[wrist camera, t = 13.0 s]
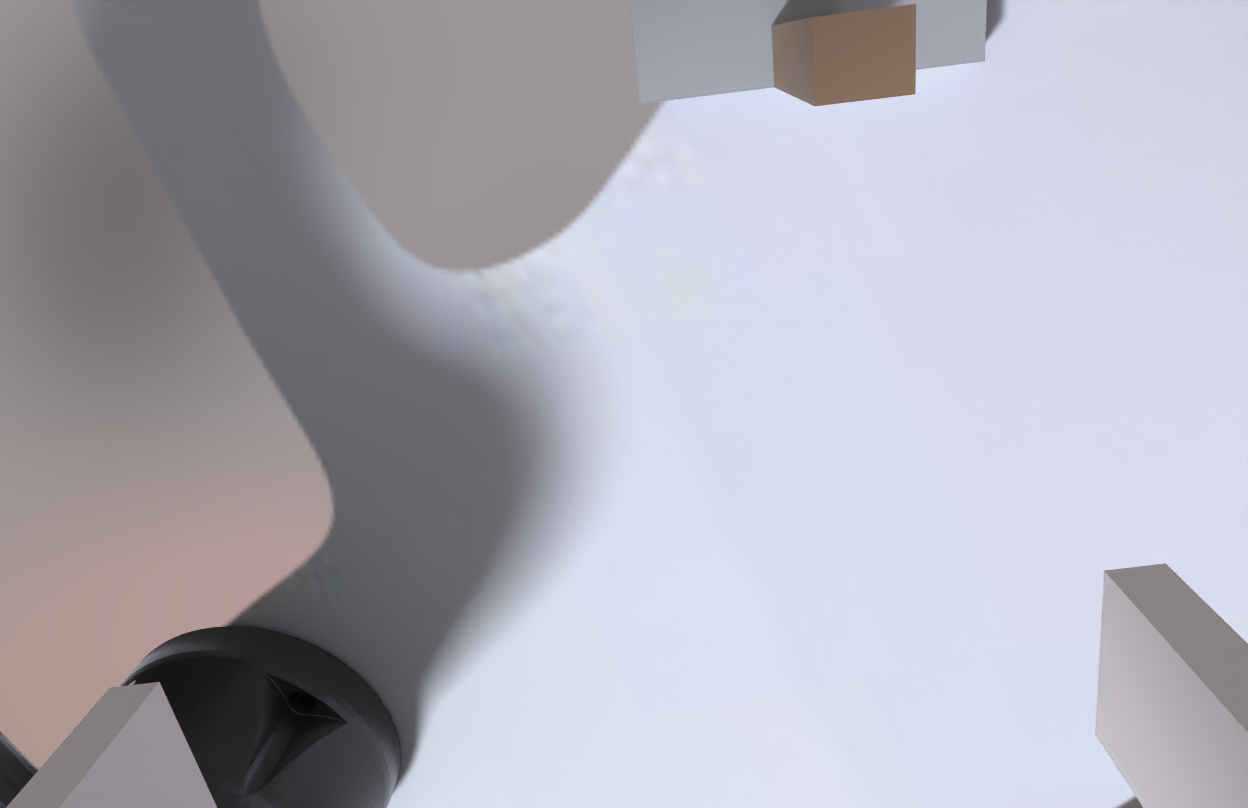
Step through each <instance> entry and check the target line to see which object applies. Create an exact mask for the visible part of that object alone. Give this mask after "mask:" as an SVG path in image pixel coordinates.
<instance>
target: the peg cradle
mask: <svg viewBox="0 0 1248 808" xmlns="http://www.w3.org/2000/svg"><path fill="white" fill-rule="evenodd" d="M629 7H630V16H631V25H632V35H633V44H634V53H635V63H636V71H637V82H638V91H639V100H640V104H642V103H650V102H658V101H666V100H674V99H682V98H690V97H698V96H706V95H715V94H723V93H731V92H739V91H747V90H755V89H763V88H771V87H775V88H777V89H779V90H781V91H784V92H786V93H788V94H790V95H792V96H794V97H796V98H799V99H801V100H803V101H805V102H807V103H809V104H811V105H813V106H821V105H829V104H837V103H845V102H854V101H862V100H870V99H879V98H887V97H895V96H903V95H912V94H915V73H916V70H917V69H925V68H933V67H941V66H949V65H957V64H965V63H973V62H981V61H985V40H986V15H987V0H629Z"/></svg>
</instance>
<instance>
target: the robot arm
mask: <svg viewBox="0 0 1248 808" xmlns="http://www.w3.org/2000/svg"><path fill="white" fill-rule="evenodd" d="M1095 735H1096V736H1097V738H1098V739H1099V741H1100V742H1101V744H1102V745H1103V747H1104V748H1105V750H1106V751H1107V753H1108V754H1109V756H1110V757H1111V759H1112V760H1113V762H1114V764H1115V765H1116V767H1117V768H1118V770H1119V771H1120V773H1121V774H1122V776H1123V777H1124V779H1125V780H1126V782H1127V783H1128V785H1129V786H1130V788H1131V789H1132V791H1133V792H1134V794H1135V795H1136V797H1137V798H1138V800H1139V802H1140V803H1141V804H1142V806H1143V808H1248V644H1247V643H1246V642H1245V641H1244V640H1243V639H1242V638H1241V637H1240V636H1239V635H1238V634H1237V633H1236V632H1235V631H1234V630H1233V629H1232V628H1231V627H1230V626H1229V625H1228V624H1227V623H1226V622H1225V621H1224V620H1223V619H1222V618H1221V617H1220V616H1219V615H1218V614H1217V613H1216V612H1215V611H1214V610H1213V609H1212V608H1210V607H1209V606H1208V605H1207V604H1206V603H1205V602H1204V601H1203V600H1202V599H1201V598H1200V597H1199V596H1198V595H1197V594H1196V593H1195V592H1194V591H1193V590H1192V589H1191V588H1190V587H1189V586H1188V585H1187V584H1186V583H1185V582H1184V581H1183V580H1182V579H1181V578H1180V577H1179V576H1178V575H1177V574H1176V573H1175V572H1174V571H1173V570H1172V569H1171V568H1170V567H1169V566H1168V565H1167V564H1158V565H1149V566H1141V567H1132V568H1124V569H1115V570H1107V571H1104V584H1103V602H1102V620H1101V639H1100V657H1099V676H1098V694H1097V713H1096V731H1095ZM399 770H400V747H399V741H398V737H397V733H396V730H395V727H394V725H393V723H392V720H391V718H390V716H389V714H388V712H387V710H386V709H385V707H384V706H383V704H382V703H381V701H380V700H379V698H378V697H377V696H376V694H375V693H374V692H373V691H372V690H371V688H370V687H369V686H368V685H367V684H366V683H365V682H364V681H363V680H362V679H361V678H360V677H359V676H358V675H356V674H355V673H354V672H353V671H352V670H351V669H349V668H348V667H347V666H345V665H344V664H343V663H341V662H340V661H338V660H337V659H335V658H334V657H332V656H331V655H329V654H327V653H326V652H324V651H322V650H320V649H318V648H316V647H314V646H312V645H310V644H308V643H305V642H303V641H300V640H298V639H295V638H292V637H289V636H287V635H283V634H280V633H276V632H272V631H267V630H262V629H256V628H247V627H214V628H206V629H200V630H196V631H192V632H188V633H185V634H182V635H180V636H177V637H175V638H173V639H170V640H168V641H166V642H165V643H163V644H161V645H160V646H159V647H157V648H156V649H154V650H153V651H152V652H150V653H149V654H148V655H147V656H146V657H145V658H144V659H143V660H142V662H141V663H140V664H139V665H138V666H137V667H136V668H135V670H134V671H133V672H132V673H131V674H130V676H128V678H127V679H126V680H125V681H124V682H123V683H122V685H121V686H120V687H112V688H109V689H108V691H107V692H106V693H105V694H104V695H103V696H102V698H101V699H100V700H99V701H98V702H97V703H96V704H95V706H94V707H93V708H92V709H91V710H90V711H89V712H88V714H87V715H86V716H85V717H84V718H83V719H82V721H81V722H80V723H79V724H78V725H77V726H76V728H75V729H74V730H73V731H72V732H71V733H70V735H69V736H68V737H67V738H66V739H65V740H64V742H63V743H62V744H61V745H60V746H59V747H58V748H57V750H56V751H55V752H54V753H53V754H52V755H51V756H50V758H49V759H48V760H47V761H46V762H45V763H44V765H43V766H42V767H41V768H40V769H38V768H37V767H36V766H35V765H34V764H33V763H32V762H31V761H30V760H29V759H28V758H27V757H26V756H25V755H24V754H23V753H22V752H21V751H20V750H19V749H18V748H17V747H16V746H15V745H14V744H12V742H10V740H8V739H7V738H6V737H5V736H4V735H3V734H2V733H1V732H0V808H387V806H388V803H389V801H390V798H391V796H392V793H393V791H394V788H395V785H396V783H397V780H398V776H399Z"/></svg>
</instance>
